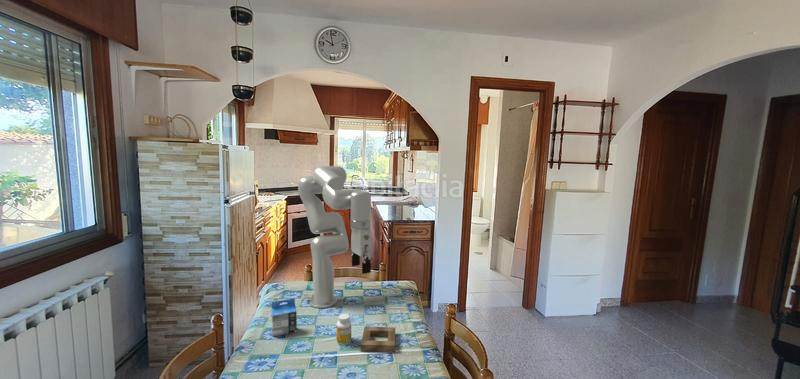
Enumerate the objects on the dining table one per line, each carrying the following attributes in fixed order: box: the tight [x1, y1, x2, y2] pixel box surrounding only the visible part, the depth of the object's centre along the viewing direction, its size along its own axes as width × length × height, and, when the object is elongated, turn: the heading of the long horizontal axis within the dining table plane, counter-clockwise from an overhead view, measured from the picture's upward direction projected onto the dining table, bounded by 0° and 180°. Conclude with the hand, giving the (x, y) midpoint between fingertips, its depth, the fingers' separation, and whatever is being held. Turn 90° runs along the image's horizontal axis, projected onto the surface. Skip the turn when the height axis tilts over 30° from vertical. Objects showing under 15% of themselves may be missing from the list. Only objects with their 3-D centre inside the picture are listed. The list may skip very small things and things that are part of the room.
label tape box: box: [270, 297, 298, 338], centre depth 125 cm, size 9×4×12 cm, turn 115°
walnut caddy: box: [360, 326, 396, 353], centre depth 121 cm, size 12×12×2 cm
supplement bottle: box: [336, 313, 352, 346], centre depth 120 cm, size 5×5×10 cm
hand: (360, 269), depth 122 cm, fingers open, 9 cm apart
